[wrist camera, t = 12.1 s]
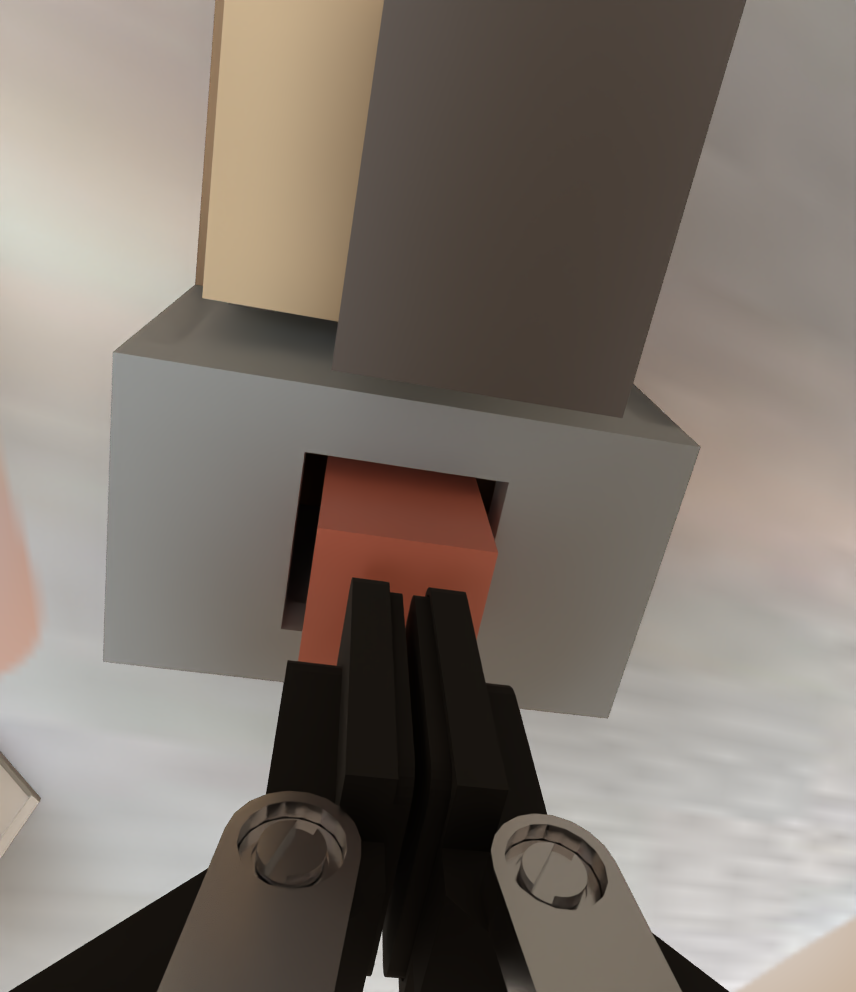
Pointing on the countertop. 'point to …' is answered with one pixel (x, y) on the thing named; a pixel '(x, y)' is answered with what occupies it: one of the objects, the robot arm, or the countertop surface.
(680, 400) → the countertop surface
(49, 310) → the countertop surface
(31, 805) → the skyscraper
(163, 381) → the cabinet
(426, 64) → the carriage
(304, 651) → the button
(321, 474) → the track
